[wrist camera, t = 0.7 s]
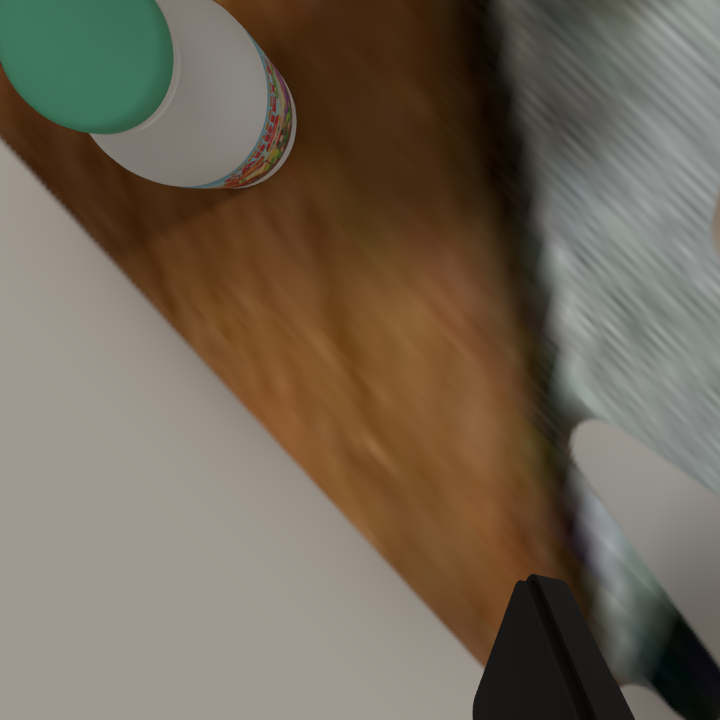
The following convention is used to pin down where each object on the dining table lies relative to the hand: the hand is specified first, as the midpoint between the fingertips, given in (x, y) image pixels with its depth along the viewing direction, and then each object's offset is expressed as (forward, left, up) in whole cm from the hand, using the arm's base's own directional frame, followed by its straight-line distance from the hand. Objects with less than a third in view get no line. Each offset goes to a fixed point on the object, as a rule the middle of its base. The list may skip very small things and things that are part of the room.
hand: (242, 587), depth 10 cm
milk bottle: (-5, -11, -29) cm, 32 cm away
